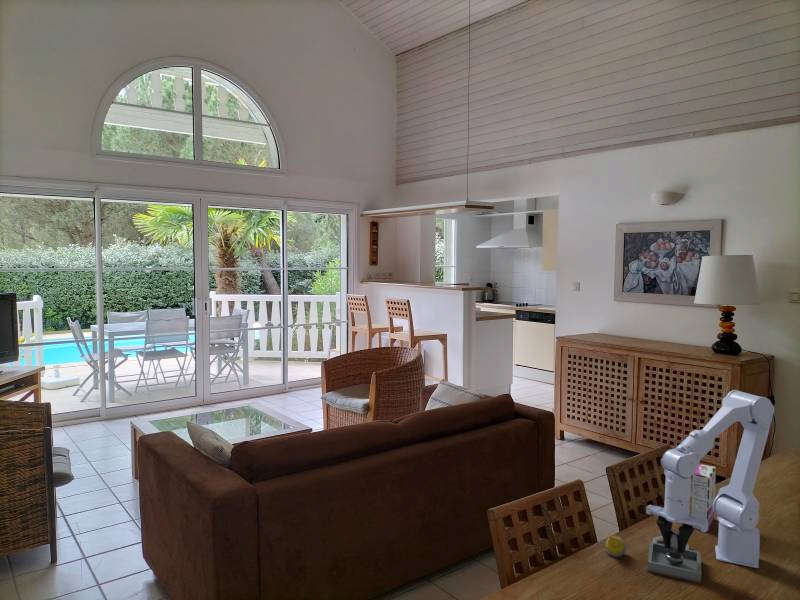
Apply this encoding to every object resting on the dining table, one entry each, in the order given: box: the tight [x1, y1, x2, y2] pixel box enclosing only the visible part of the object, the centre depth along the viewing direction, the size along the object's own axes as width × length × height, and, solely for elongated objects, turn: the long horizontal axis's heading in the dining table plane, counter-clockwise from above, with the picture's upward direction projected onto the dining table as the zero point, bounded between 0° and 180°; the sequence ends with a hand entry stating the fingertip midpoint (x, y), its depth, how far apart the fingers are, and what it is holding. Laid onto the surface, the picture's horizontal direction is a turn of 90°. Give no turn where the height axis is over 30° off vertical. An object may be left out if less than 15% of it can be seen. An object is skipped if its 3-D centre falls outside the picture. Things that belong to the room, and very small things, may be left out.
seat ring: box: [652, 535, 690, 550], centre depth 157 cm, size 9×9×1 cm
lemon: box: [604, 534, 627, 558], centre depth 152 cm, size 5×5×10 cm
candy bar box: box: [690, 463, 717, 532], centre depth 172 cm, size 11×5×16 cm, turn 143°
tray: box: [647, 541, 702, 585], centre depth 148 cm, size 12×12×2 cm
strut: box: [666, 529, 683, 564], centre depth 147 cm, size 4×4×7 cm
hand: (674, 549), depth 147 cm, fingers closed on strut, 3 cm apart
